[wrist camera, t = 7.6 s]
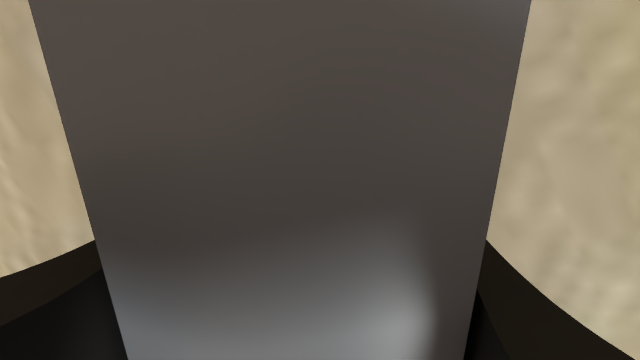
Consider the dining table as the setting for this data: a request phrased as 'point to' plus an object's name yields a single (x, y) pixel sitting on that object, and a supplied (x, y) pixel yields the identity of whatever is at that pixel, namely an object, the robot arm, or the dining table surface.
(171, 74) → the grey rectangular block
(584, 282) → the dining table surface
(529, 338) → the robot arm
